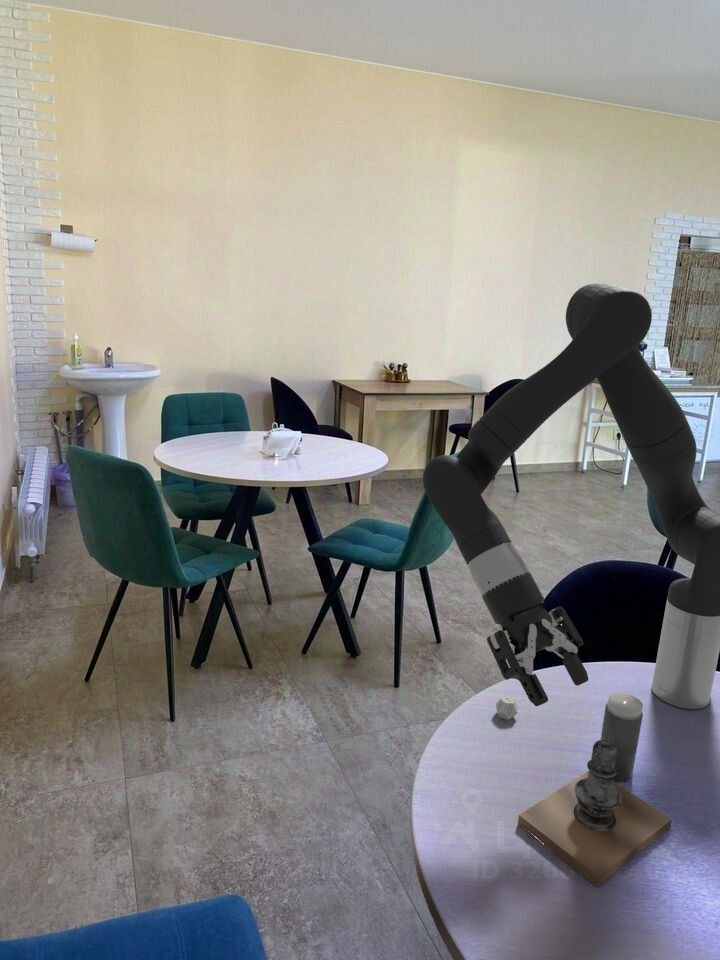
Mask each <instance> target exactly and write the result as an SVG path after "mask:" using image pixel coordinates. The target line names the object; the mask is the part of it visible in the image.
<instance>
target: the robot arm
mask: <svg viewBox="0 0 720 960" xmlns="http://www.w3.org/2000/svg"><path fill="white" fill-rule="evenodd" d="M652 318H653V313H652V309H651V306H650V303H649V301H648V300H647V298H646V297H645V296H643V295H642V293H639V292H638V291H636V290H634V289H629V288H626V287H622V286H618V285H613V284H611V283H610V284H609V283H603V282H602V283H601V282H600V283H598V282H597V283H589V284H586V285H583V286H581V287H580V288H579V289H578V290H576V291H575V292H574V293H573V294H572V296H571V297H570V299H569V301H568V303H567V307H566V309H565V325H566V328H567V329H566V330H567V331H568V334H569V336H570V337H571V342H569V344H567V346H565V348H564V349H563V350H562V351H561V352H560V353H559V354H558V355H556V356H555V358H553V359H552V360H551V361H549V362H548V363H547V364H546V365H544V366H543V367H541V368H540V369H538V370H537V371H536V372H534V373H532V374H531V375H530V376H528V377H527V378H525V379H524V380H523V379H522V381H520V382H517V384H515V385H514V386H512V387H511V388H510V389H508V390H507V391H506V392H505V393H503V395H501V396H500V397H499V398H498V399H497V400H495V402H494V403H493V404H492V405H491V406H490V408H488V409H487V410H486V411H485V412H484V413H483V414H482V416H480V418H479V419H478V420H477V421H476V422H475V423H474V424H473V425H472V427H471V428H470V430H469V432H468V435H467V439H468V440H467V443H466V444H464V447H462V449H461V450H460V452H459V453H458V454H457V455H456V456H454V455H450V454H449V455H448V454H445V455H444V454H443V455H439V456H436V457H434V458H432V459H431V460H430V461H429V462H428V463H427V464H426V466H425V468H424V471H423V474H422V485H423V489H424V491H425V493H426V496H427V498H428V500H429V502H430V504H431V505H432V507H433V508H434V510H435V512H436V513H437V514H438V516H439V518H440V519H441V520H442V522H443V523H444V524H445V526H446V527H447V528H448V530H449V531H450V533H451V535H452V537H453V538H454V541H455V543H456V545H457V548H458V549H459V551H460V553H461V555H462V558H463V559H464V561H465V563H466V565H467V567H468V570H469V572H470V574H471V578H472V580H473V582H474V584H475V586H476V588H477V590H478V593H479V594H480V596H481V599H482V600H483V602H484V604H485V606H486V608H487V610H488V612H489V614H490V616H491V618H492V620H493V621H494V623H495V624H497V625H500V626H501V629H499V630H497V631H495V632H494V633H492V634H490V635H488V636H487V638H486V642H487V644H488V646H489V648H490V651H491V653H492V655H493V657H494V659H495V662H496V664H497V666H498V668H499V671H500V673H501V675H502V677H503V679H504V680H507V681H508V680H510V679H511V680H512V679H515V680H517V681H519V682H520V684H521V686H522V689H523V690H524V693H525V694H526V696H527V698H528V700H529V702H530V703H532V704H533V706H535V707H539V706H542V705H543V704H546V703H548V702H549V697H548V695H547V693H546V691H545V690H544V689H545V688H544V687H543V685H542V684H541V681H540V679H539V678H538V676H537V674H536V673H534V659H535V657H536V653H537V652H541V651H542V650H544V649H545V650H546V651H548V652H553V653H554V654H556V655H557V656H558V657H560V658H561V659H563V660H561V662H562V664H563V665H564V668H565V670H566V672H567V674H568V675H569V677H570V678H571V680H572V683H573V684H574V685H575V686H577V687H578V686H580V685H582V684H585V683H587V682H588V681H589V675H588V672H587V669H586V668H585V666H584V664H583V662H582V661H581V659H580V657H579V654H578V651H579V648H580V647H581V646H583V645H584V640H583V638H582V637H581V635H580V634H579V631H578V630H577V628H576V627H575V625H574V623H573V622H572V620H571V618H570V616H569V615H568V613H567V611H566V610H565V608H564V607H563V606H561V605H560V606H557V607H555V608H554V609H552V610H550V611H549V612H548V611H547V610H546V609H545V607H544V605H543V604H544V602H545V597H544V595H543V593H542V592H541V589H540V588H539V586H538V584H537V582H536V580H535V579H534V577H533V575H532V573H531V572H530V569H529V568H528V566H527V564H526V562H525V560H524V558H523V557H522V555H521V554H520V552H519V551H518V550H517V548H516V547H515V545H514V544H513V543H512V541H511V538H510V536H509V534H508V533H507V531H506V529H505V527H504V526H503V523H502V522H501V521H500V519H499V517H498V516H497V514H495V512H494V511H493V510H491V509H490V508H489V507H488V505H487V503H486V501H485V499H484V498H483V495H482V494H483V493H484V492H485V490H486V489H487V488H488V487H489V485H490V483H492V481H493V480H494V479H495V477H496V475H497V474H498V472H499V471H500V469H501V468H502V467H503V464H504V463H505V462H506V461H507V460H508V459H510V458H511V456H513V455H514V453H515V452H517V451H518V450H519V448H520V447H521V446H523V445H524V443H525V442H526V441H527V440H528V439H529V438H530V437H531V436H532V435H533V434H534V433H535V432H536V431H537V430H538V429H539V428H540V427H541V426H542V425H543V424H544V423H546V421H547V420H548V419H549V418H551V416H552V415H553V414H555V413H556V412H557V411H558V410H559V409H560V408H561V407H563V405H565V404H566V403H567V402H568V401H570V400H571V399H572V398H573V397H574V396H576V395H577V394H578V393H580V392H581V391H582V390H583V389H585V388H586V387H587V386H588V385H589V384H591V383H592V382H594V380H596V379H597V381H598V383H599V386H600V387H601V389H602V392H603V394H604V397H605V400H606V402H607V405H608V408H609V409H610V411H611V413H612V416H613V418H614V419H615V423H616V424H617V426H618V428H619V431H620V434H621V435H622V438H623V440H624V444H626V448H627V449H628V451H629V453H630V455H631V457H632V459H633V461H634V463H635V465H636V467H637V469H638V470H639V473H640V475H641V476H642V479H643V480H644V484H645V485H646V487H647V489H648V492H649V494H650V495H651V497H652V499H653V502H654V504H655V507H656V510H657V512H658V516H659V518H660V519H659V520H660V522H661V525H662V528H663V531H664V533H665V537H666V539H667V542H668V544H669V546H670V548H671V549H672V550H673V551H674V553H675V554H677V555H678V556H679V557H680V558H682V559H684V560H686V561H687V562H689V563H691V564H693V565H694V566H693V570H692V574H691V577H684V578H678V579H675V580H673V581H672V582H671V583H670V585H669V588H668V591H667V592H668V593H667V598H666V604H665V607H664V608H665V610H664V615H663V621H662V626H661V627H662V628H661V631H660V639H659V643H658V649H657V656H656V662H655V667H654V671H653V677H652V683H651V691H652V692H653V694H654V695H655V696H656V697H657V698H659V700H661V701H663V702H665V703H667V704H669V705H671V706H674V707H677V708H681V709H685V710H700V709H703V708H706V707H707V706H708V705H709V703H710V699H711V694H712V690H713V685H714V680H715V676H716V671H717V665H718V660H719V655H720V512H719V511H715V510H713V509H712V508H710V507H709V506H708V505H707V504H706V503H705V502H704V500H703V498H702V496H701V495H700V493H699V491H698V488H697V486H696V484H695V481H694V477H693V472H694V468H695V464H696V459H697V442H696V439H695V435H694V433H693V431H692V428H691V426H690V424H689V421H688V419H687V417H686V415H685V413H684V410H683V408H682V407H681V405H680V403H679V402H678V401H677V399H676V398H675V396H674V395H673V394H672V392H671V391H670V390H669V388H668V386H667V387H666V385H665V384H664V382H663V381H662V380H661V379H660V377H659V376H657V374H656V373H655V371H653V369H652V368H651V367H650V366H649V364H648V363H647V361H646V360H645V357H644V356H643V354H642V353H641V351H640V348H639V345H640V344H641V343H642V342H643V341H644V340H645V338H646V336H647V335H648V333H649V331H650V330H651V329H650V327H651V325H652V320H653V319H652ZM568 634H569V636H570V637H569V636H568ZM511 645H512V646H511Z"/></svg>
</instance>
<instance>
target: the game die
mask: <svg viewBox="0 0 720 960" xmlns="http://www.w3.org/2000/svg"><path fill="white" fill-rule="evenodd" d="M495 707H496V713H497V715H498V716H499V717H500V718H502V719H504V720H506V721H509V720H511V719H513V718H514V717H515V716H516V715H517V714H519V706H518V703H517V702H516V700H515V698H513V697H510V696H508V695H505V696H502V697H501V698H500V699H499V700H498V701H497V702H496V703H495Z"/></svg>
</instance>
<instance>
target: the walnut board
mask: <svg viewBox="0 0 720 960" xmlns="http://www.w3.org/2000/svg"><path fill="white" fill-rule="evenodd" d="M588 773H589V770H588V771H586V772H584V773H583V774H582V775H579V776H578V777H577V778H575V779H573V780H572V781H570V782H569V783H567V784H565V785H564V786H562V787H561V788H559V789H558V790H556V791H554V792H553V793H551V794H550V795H548V796H547V797H545V798H544V799H542V800H541V801H538V802H537V803H536V804H534V805H532V806H531V807H529V808H527V809H526V810H524V811H523V812H521V813H520V814H518V821H517V825H518V824H519V825H520V826H521V827H520V826H519V825H518V826H519V827H520V828H522V827H523V828H524V829H526V830H527V831H529V832H530V833H532V834H533V835H534V836H536V837H537V838H538V839H539V840H540V841H541V842H542V843H544V845H546V846H547V847H548V848H549V849H551V850H552V851H553V852H554V853H555V856H557V857H558V856H559V857H560V858H559V857H558V858H559V859H560V860H562V859H563V860H564V861H563V860H562V861H563V862H565V863H566V864H567V865H568V866H569V867H570V868H572V869H573V870H574V871H576V872H577V873H579V874H580V875H581V876H582V877H583V878H585V879H586V880H587V881H588V882H590V883H591V884H592V885H593V886H595V887H596V888H598V887H599V886H601V884H603V883H604V882H605V881H607V880H608V879H609V878H610V877H612V876H613V875H614V874H615V873H617V872H618V871H619V870H620V869H621V868H623V867H624V866H625V865H626V864H628V863H629V862H631V860H633V859H634V858H636V857H637V856H638V855H639V854H640V853H641V852H642V851H645V850H646V849H647V848H648V847H649V846H650V845H652V844H653V843H655V841H657V840H658V839H659V838H660V837H661V836H663V835H664V834H665V833H667V832H668V831H669V830H671V826H672V820H673V818H672V817H669V816H668V815H667V814H665V813H664V812H662V811H661V810H659V809H657V808H656V807H654V806H652V804H650V803H648V802H646V801H645V800H644V799H642V798H640V797H639V796H638V795H636V794H634V793H633V792H631V791H629V790H628V789H626V788H625V787H623V785H621V784H619V783H618V782H616V781H613V784H612V785H614V786H615V787H616V788H617V789H618V790H619V792H620V793H621V796H622V803H621V805H620V806H619V807H618V808H617V810H616V811H615V813H614V815H615V817H616V824H615V826H614V827H613V828H612V829H610V830H608V831H596V830H592V829H589V828H587V827H585V826H584V825H582V824H581V823H580V822H579V821H578V820H577V819H576V817H575V816H574V807H575V805H576V804H577V803H578V800H577V797H576V793H575V790H574V789H575V784H576V782H577V781H579V780H580V779H583V778H588ZM523 828H522V829H523ZM524 829H523V830H524ZM527 831H526V832H527ZM541 842H540V843H541ZM542 843H541V844H542ZM544 845H543V846H544ZM546 846H545V847H546ZM547 847H546V848H547ZM548 848H547V849H548ZM549 849H548V850H549ZM551 850H550V851H551ZM552 851H551V852H552ZM553 852H552V853H553ZM554 853H553V854H554Z"/></svg>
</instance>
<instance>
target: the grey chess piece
mask: <svg viewBox="0 0 720 960" xmlns="http://www.w3.org/2000/svg"><path fill="white" fill-rule="evenodd" d="M592 746H593V747H592V752H591V758H590V760H588V762H587V765H586V767H587V769H588V771H589V773H588V778H583V779H580V780H579V781H577V782H576V784H575V789H574V790H575V793H576V797H577V800H578V803H577V804H576V805H575V807H574V816H575V817H576V819H577V820H578V821H579V822H580V823H581V824H582V825H584V826H585V827H587V828H589V829H592V830H596V831H608V830H610V829H612V828H613V827H614V826H615V824H616V817H615V815H614V813H615V811H616V810H617V808H618V807H619V806H620V805H621V803H622V796H621V793H620V792H619V790H618V789H617V788H616V787H615V786H614V785H612V784H613V778H614V776H615V775H616V774H617V769H616V767H615V762H616V755H617V749H616V747H615V745H614V744H613V743H611V742H609V738H608V737H605V738H604V740H600V739H599V740H597V741H595V742H594V744H593V745H592Z"/></svg>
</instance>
